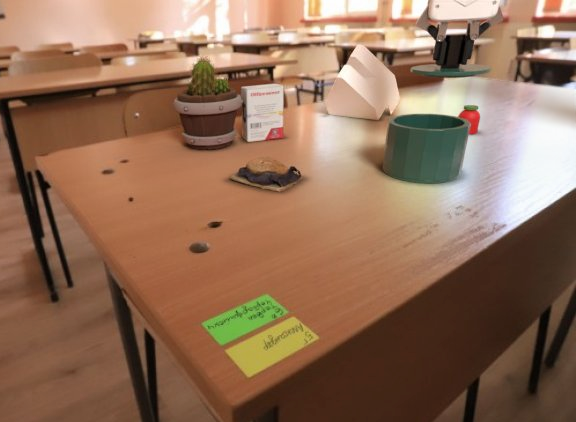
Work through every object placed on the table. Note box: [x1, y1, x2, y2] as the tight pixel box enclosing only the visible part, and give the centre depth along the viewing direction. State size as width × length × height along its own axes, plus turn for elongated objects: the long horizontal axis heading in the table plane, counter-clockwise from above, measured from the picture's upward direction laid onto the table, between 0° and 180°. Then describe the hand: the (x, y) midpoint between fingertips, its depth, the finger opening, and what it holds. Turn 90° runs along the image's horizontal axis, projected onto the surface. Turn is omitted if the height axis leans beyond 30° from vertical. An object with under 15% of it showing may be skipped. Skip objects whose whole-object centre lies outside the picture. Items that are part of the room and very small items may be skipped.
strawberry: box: [457, 104, 481, 135], centre depth 89 cm, size 4×4×6 cm
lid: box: [410, 33, 492, 79], centre depth 74 cm, size 13×13×7 cm
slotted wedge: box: [324, 44, 401, 121], centre depth 107 cm, size 14×11×18 cm
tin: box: [382, 113, 471, 184], centre depth 69 cm, size 12×12×8 cm
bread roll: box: [229, 156, 304, 193], centre depth 71 cm, size 11×8×4 cm
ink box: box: [240, 83, 285, 143], centre depth 94 cm, size 9×5×12 cm, turn 100°
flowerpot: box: [172, 55, 243, 151], centre depth 90 cm, size 14×15×20 cm
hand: (450, 63), depth 75 cm, fingers closed on lid, 3 cm apart
